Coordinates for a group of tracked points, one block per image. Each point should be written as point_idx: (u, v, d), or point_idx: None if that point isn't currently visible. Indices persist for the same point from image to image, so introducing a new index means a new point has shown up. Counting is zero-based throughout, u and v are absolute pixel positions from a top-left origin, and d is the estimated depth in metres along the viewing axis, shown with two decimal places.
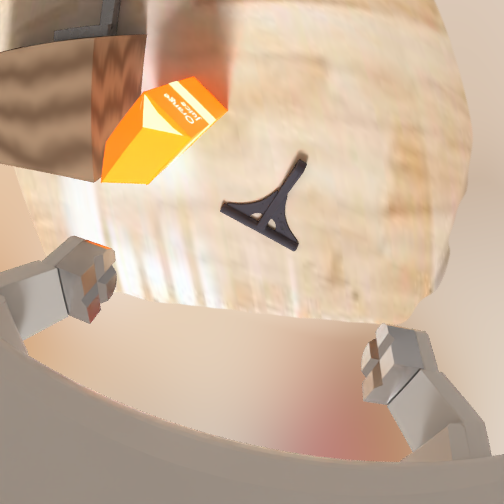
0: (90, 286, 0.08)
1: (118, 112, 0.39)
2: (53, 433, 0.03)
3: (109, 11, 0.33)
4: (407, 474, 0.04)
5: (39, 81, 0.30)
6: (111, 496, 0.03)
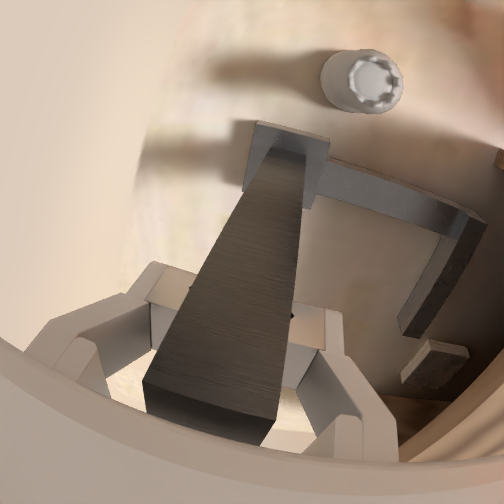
0: None
1: None
2: (53, 433, 0.03)
3: (437, 211, 0.20)
4: (407, 475, 0.03)
5: None
6: (111, 496, 0.03)
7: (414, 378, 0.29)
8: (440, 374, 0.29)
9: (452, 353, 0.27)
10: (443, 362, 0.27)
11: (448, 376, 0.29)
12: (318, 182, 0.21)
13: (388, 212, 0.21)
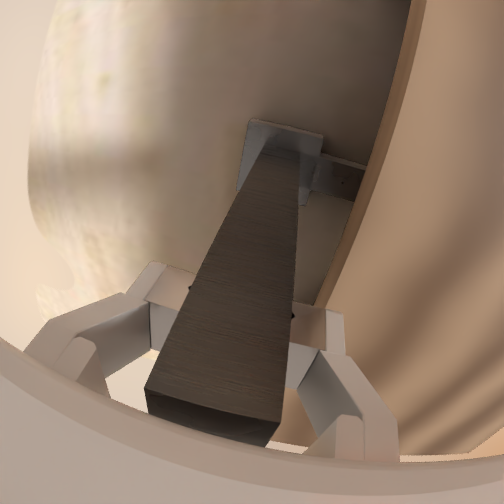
0: None
1: None
2: (53, 433, 0.03)
3: None
4: (407, 475, 0.04)
5: None
6: (111, 496, 0.03)
7: None
8: None
9: None
10: None
11: None
12: (313, 179, 0.21)
13: None
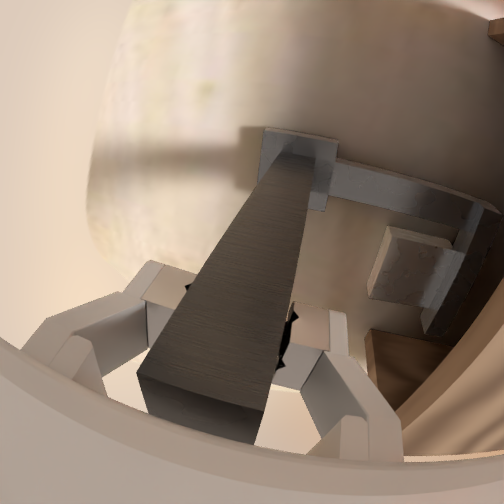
0: None
1: None
2: (53, 433, 0.03)
3: (452, 204, 0.19)
4: (407, 474, 0.04)
5: None
6: (111, 495, 0.03)
7: (384, 288, 0.24)
8: (420, 281, 0.23)
9: (426, 243, 0.22)
10: (419, 259, 0.22)
11: (434, 284, 0.23)
12: (330, 184, 0.21)
13: (402, 209, 0.20)
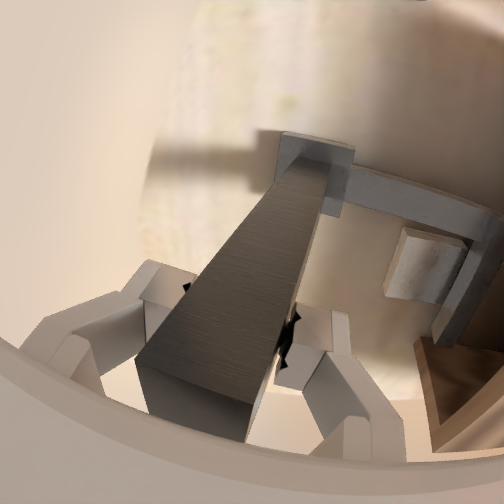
0: None
1: None
2: (53, 433, 0.03)
3: (466, 215, 0.18)
4: (407, 475, 0.04)
5: None
6: (111, 496, 0.03)
7: (399, 286, 0.24)
8: (434, 278, 0.23)
9: (440, 242, 0.22)
10: (433, 257, 0.23)
11: (447, 282, 0.23)
12: (345, 190, 0.21)
13: (417, 218, 0.20)
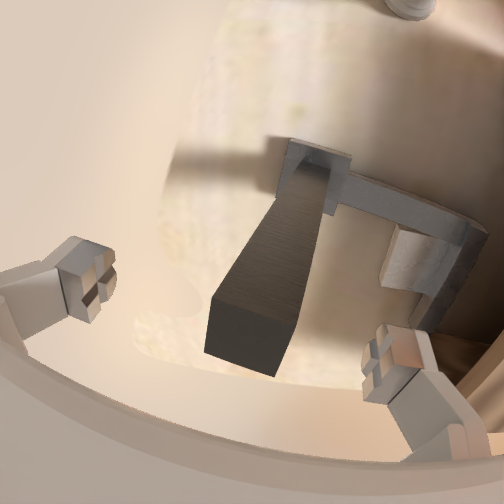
0: (90, 286, 0.08)
1: None
2: (53, 433, 0.03)
3: (444, 221, 0.22)
4: (407, 474, 0.04)
5: None
6: (111, 496, 0.03)
7: (394, 277, 0.27)
8: (425, 270, 0.26)
9: (429, 235, 0.25)
10: (423, 250, 0.25)
11: None
12: (340, 193, 0.24)
13: (400, 220, 0.24)
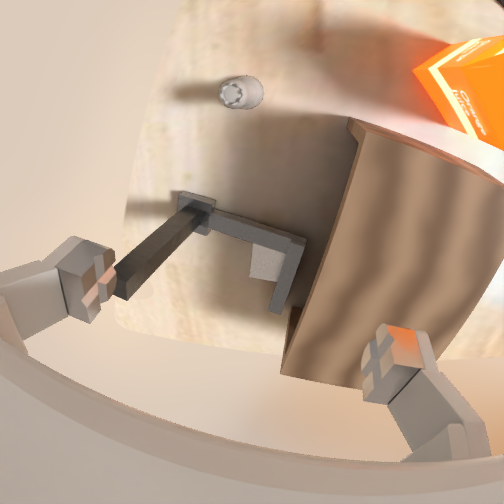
0: (90, 286, 0.08)
1: (450, 157, 0.29)
2: (53, 433, 0.03)
3: (272, 238, 0.42)
4: (407, 475, 0.04)
5: (388, 248, 0.29)
6: (111, 496, 0.03)
7: (256, 271, 0.47)
8: (277, 267, 0.46)
9: None
10: (272, 254, 0.45)
11: None
12: (208, 223, 0.44)
13: (244, 238, 0.43)
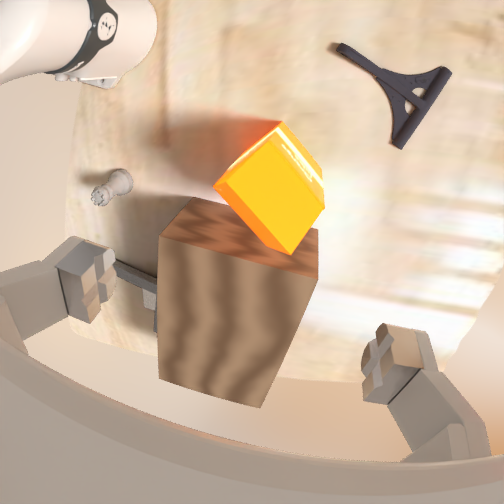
0: (90, 286, 0.08)
1: None
2: (53, 433, 0.03)
3: (148, 284, 0.56)
4: (407, 474, 0.04)
5: (193, 307, 0.43)
6: (111, 496, 0.03)
7: (148, 304, 0.61)
8: None
9: None
10: (155, 294, 0.59)
11: None
12: None
13: (131, 282, 0.57)
